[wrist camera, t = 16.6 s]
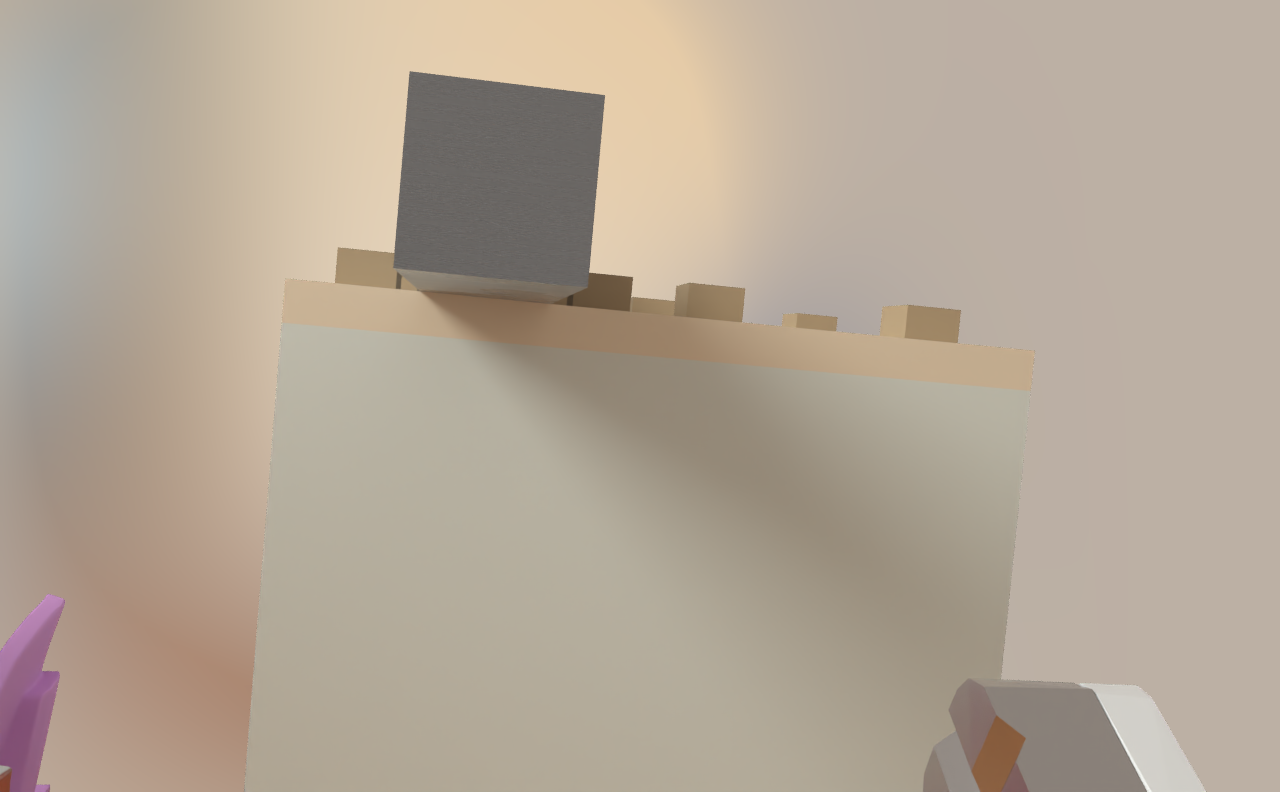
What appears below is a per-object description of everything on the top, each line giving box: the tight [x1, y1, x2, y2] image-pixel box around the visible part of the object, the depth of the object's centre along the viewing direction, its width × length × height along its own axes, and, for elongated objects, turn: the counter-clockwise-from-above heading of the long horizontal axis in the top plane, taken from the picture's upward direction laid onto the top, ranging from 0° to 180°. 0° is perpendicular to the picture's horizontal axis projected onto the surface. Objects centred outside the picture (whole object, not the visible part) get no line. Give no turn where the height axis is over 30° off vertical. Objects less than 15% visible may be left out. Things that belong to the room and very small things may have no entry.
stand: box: [244, 248, 1035, 792], centre depth 38 cm, size 20×18×27 cm
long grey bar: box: [393, 72, 605, 304], centre depth 32 cm, size 28×3×3 cm, turn 8°
